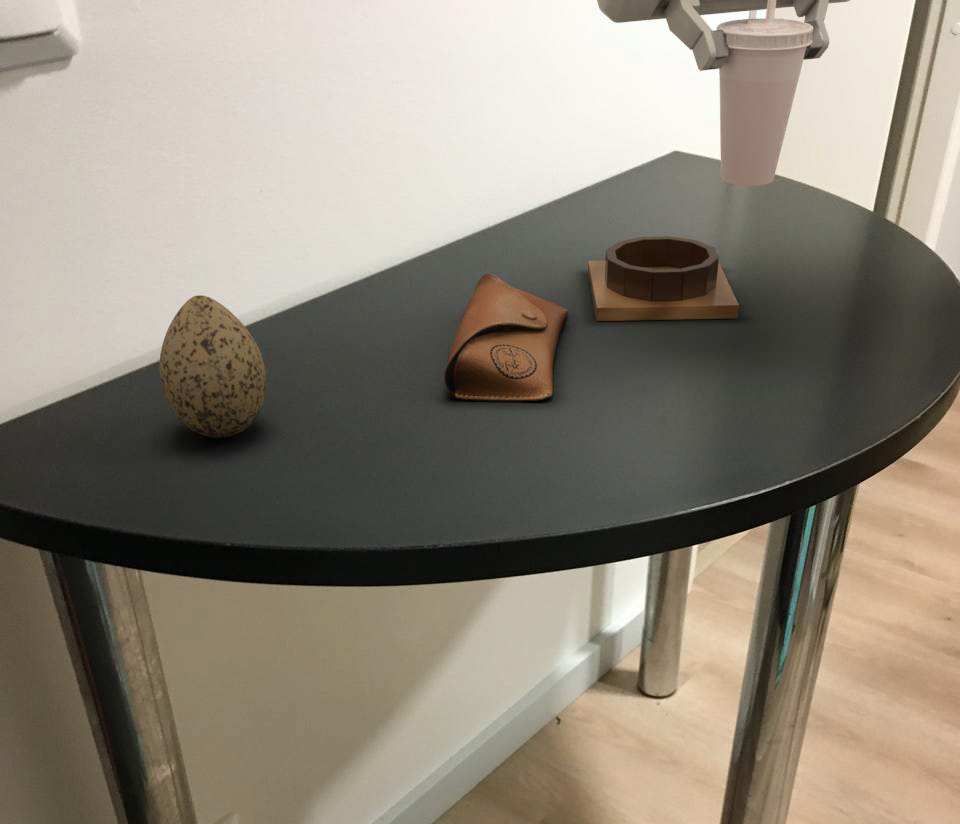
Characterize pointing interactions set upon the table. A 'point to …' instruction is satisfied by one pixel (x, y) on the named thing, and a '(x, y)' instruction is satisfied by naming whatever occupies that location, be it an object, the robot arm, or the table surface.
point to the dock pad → (660, 281)
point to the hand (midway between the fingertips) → (766, 58)
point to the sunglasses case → (504, 345)
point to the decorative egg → (212, 370)
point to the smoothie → (758, 93)
